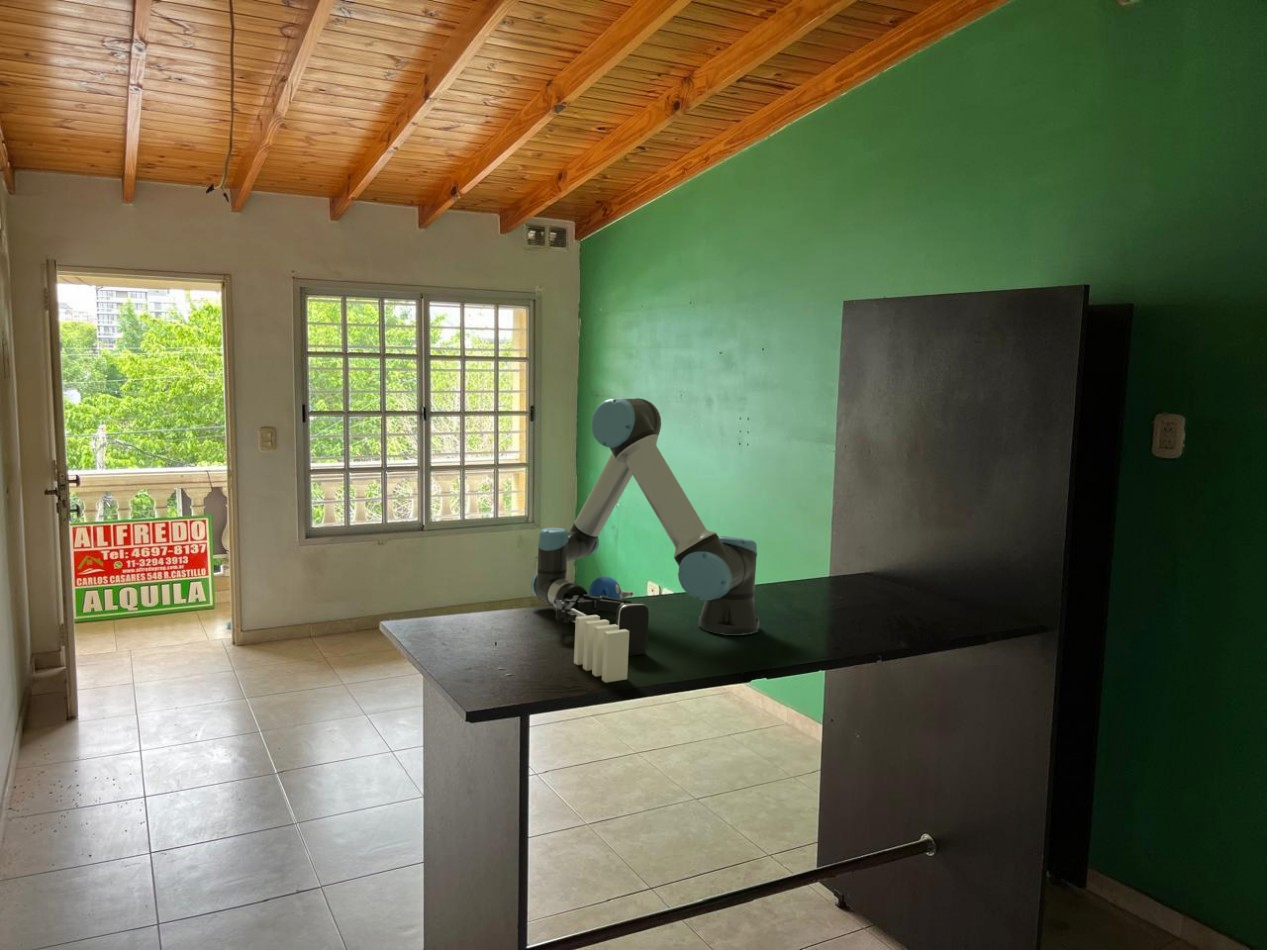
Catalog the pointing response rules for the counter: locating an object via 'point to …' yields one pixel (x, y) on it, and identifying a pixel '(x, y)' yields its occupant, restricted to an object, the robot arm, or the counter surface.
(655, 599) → the counter surface
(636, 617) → the battery charger
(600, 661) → the tile
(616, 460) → the robot arm
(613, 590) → the blue mole toy
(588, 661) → the tile
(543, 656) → the counter surface
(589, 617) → the tile
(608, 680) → the tile
